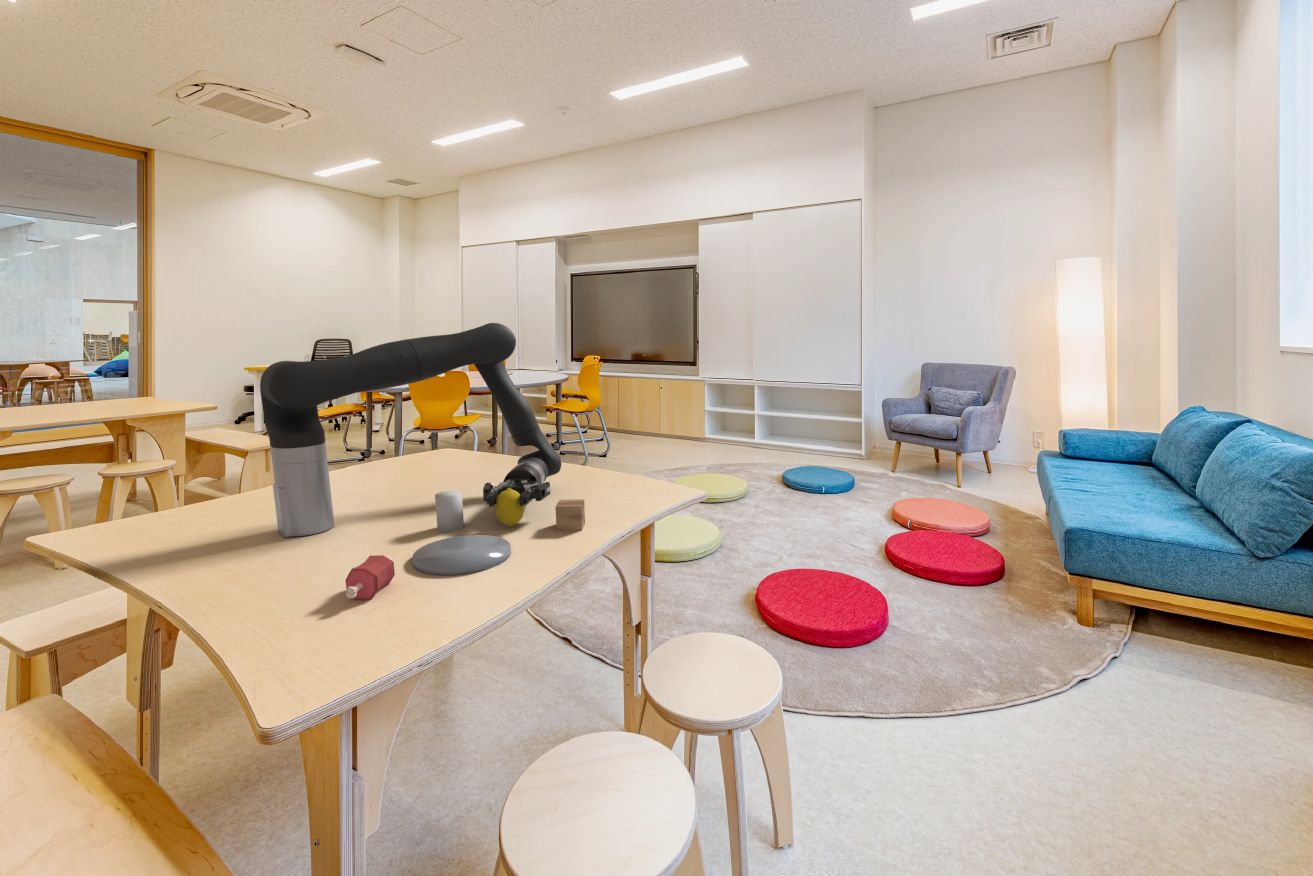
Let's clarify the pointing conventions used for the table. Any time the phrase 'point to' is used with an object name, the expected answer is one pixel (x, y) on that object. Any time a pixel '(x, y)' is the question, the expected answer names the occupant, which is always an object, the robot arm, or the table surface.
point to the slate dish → (461, 555)
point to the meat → (369, 577)
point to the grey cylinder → (449, 511)
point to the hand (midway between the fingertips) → (506, 501)
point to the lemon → (509, 507)
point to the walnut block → (570, 515)
